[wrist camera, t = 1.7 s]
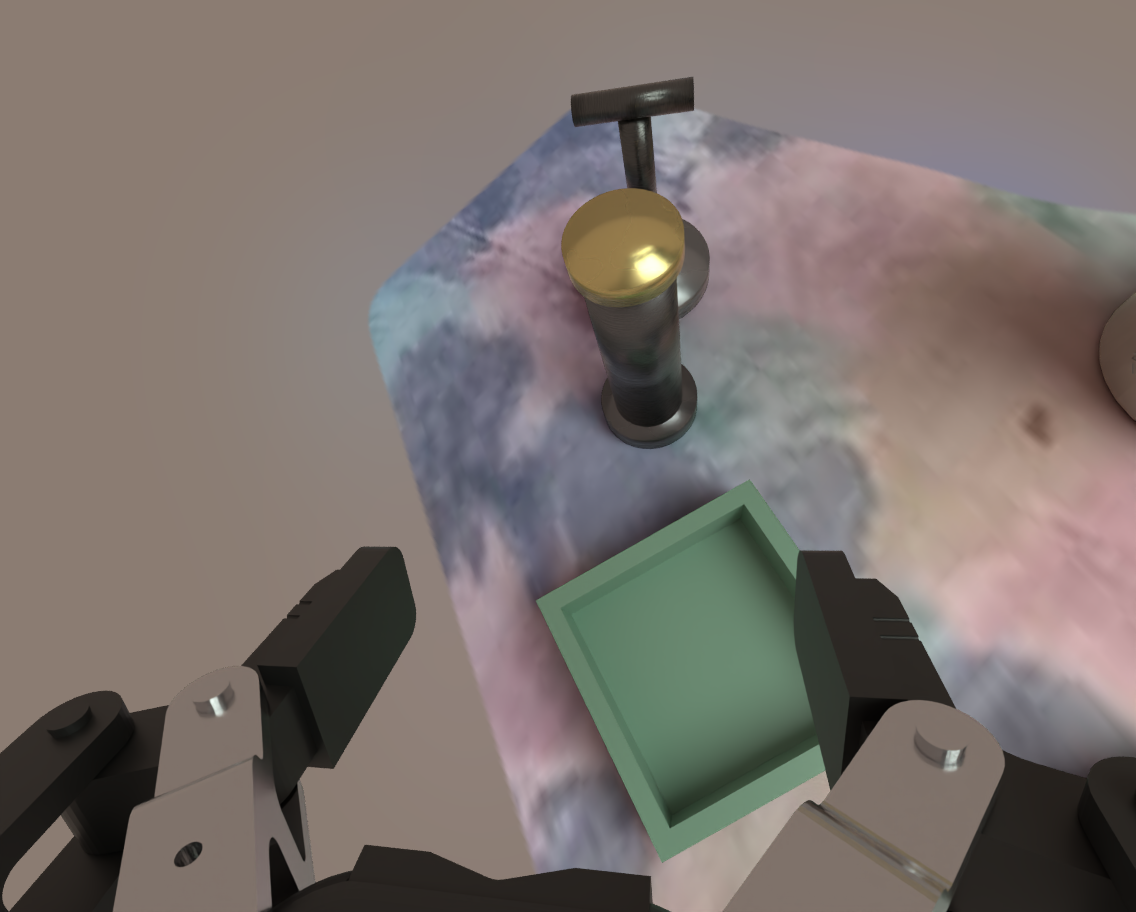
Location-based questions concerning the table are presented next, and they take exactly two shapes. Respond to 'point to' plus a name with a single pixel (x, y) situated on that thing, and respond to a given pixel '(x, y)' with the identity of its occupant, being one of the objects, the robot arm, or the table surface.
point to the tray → (694, 667)
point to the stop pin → (634, 310)
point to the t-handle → (649, 158)
